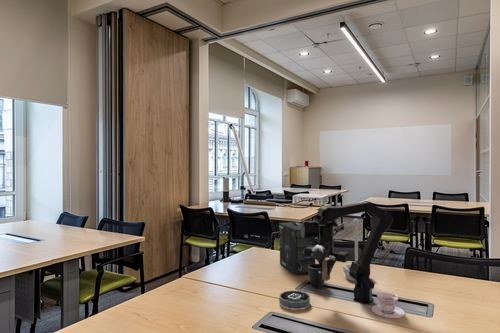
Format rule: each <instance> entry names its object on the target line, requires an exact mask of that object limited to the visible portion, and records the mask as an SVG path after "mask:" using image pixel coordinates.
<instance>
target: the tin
mask: <svg viewBox="0 0 500 333" xmlns="http://www.w3.org/2000/svg"><path fill="white" fill-rule="evenodd" d="M278 298H279V299H278V301H279V305H280V306H281V307H282V308H284V309H286V310H289V311H291V310H292V311H301V310H306V309H307V308H309V307H310V305H311V303H310V302H311V297H310V295H309V294H308V293H307V292H304V291H300V290H286V291H282V292H281V293H279V297H278Z"/></svg>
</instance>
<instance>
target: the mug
mask: <svg viewBox="0 0 500 333" xmlns="http://www.w3.org/2000/svg"><path fill="white" fill-rule="evenodd" d="M307 275H308V279H309V282H310V286H311V288H314V289H322V288H323V287H324V285H325V282H326V281H325V280H322V270H321V268H320V265H319V263H316V264H310V265H308V274H307Z"/></svg>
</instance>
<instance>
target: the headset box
mask: <svg viewBox="0 0 500 333" xmlns="http://www.w3.org/2000/svg"><path fill="white" fill-rule="evenodd" d="M278 225H279V226H278V228H279V232H278V233H279V234H278V235H279V264H280V265H281V266H282V267H283V266H284V267H283V268H284V269H286V270H288V271H290V273H292V274H294V275H295V276H299V275H300V276H301V275H309V274H308V265H310V264H317V263H316V259H314V258H313V254H311V255H310V256H307V255H304V249H305V248H307V247H309V246H312V247H315V246H316V238H302V236H301V225H302V222H299V221H290V222H279V223H278Z"/></svg>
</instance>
